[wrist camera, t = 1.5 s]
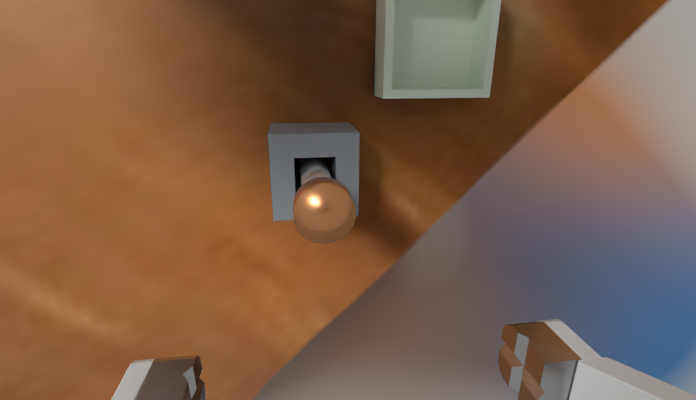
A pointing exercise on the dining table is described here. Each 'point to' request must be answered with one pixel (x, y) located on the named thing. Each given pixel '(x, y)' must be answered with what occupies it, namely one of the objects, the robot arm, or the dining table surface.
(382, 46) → the tray
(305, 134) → the pin block
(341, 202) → the pin
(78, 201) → the dining table surface
